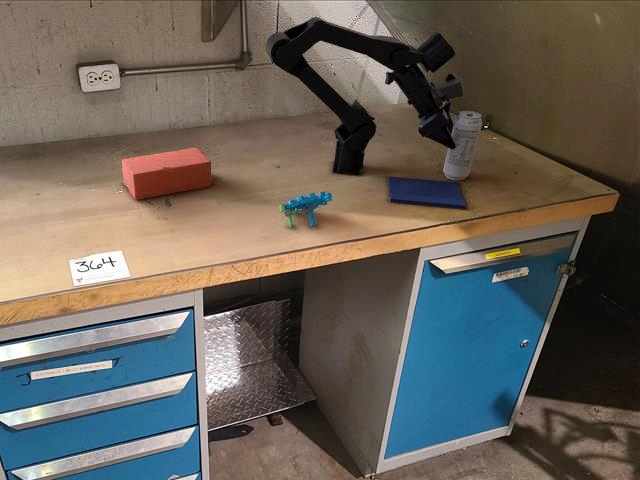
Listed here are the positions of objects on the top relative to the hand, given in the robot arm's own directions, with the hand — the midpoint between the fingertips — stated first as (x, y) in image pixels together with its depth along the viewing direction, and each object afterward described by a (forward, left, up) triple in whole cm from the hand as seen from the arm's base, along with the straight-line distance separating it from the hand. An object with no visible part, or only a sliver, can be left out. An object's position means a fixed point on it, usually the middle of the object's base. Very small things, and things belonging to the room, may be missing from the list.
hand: (455, 141), depth 140 cm
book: (-6, -11, -8) cm, 15 cm away
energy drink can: (+2, 0, -9) cm, 9 cm away
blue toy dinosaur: (-32, -30, -9) cm, 45 cm away
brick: (-64, -20, -9) cm, 68 cm away
